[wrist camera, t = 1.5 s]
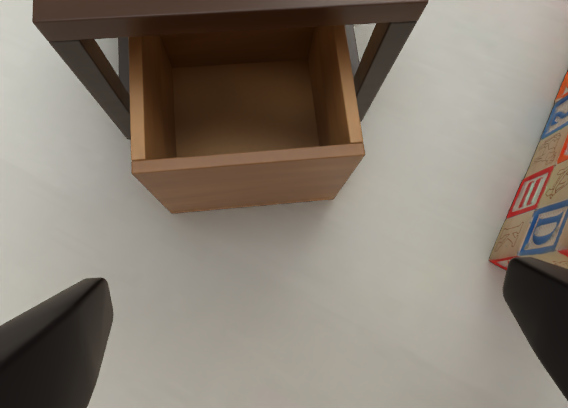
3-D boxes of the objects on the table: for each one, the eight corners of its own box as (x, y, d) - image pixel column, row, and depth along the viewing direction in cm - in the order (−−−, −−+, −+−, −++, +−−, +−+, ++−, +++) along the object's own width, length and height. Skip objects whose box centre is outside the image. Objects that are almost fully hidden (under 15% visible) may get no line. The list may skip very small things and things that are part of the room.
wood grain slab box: (334, 199, 26) (365, 155, 18) (171, 213, 25) (131, 174, 17) (314, 56, 28) (335, -38, 20) (164, 65, 27) (126, -29, 20)
